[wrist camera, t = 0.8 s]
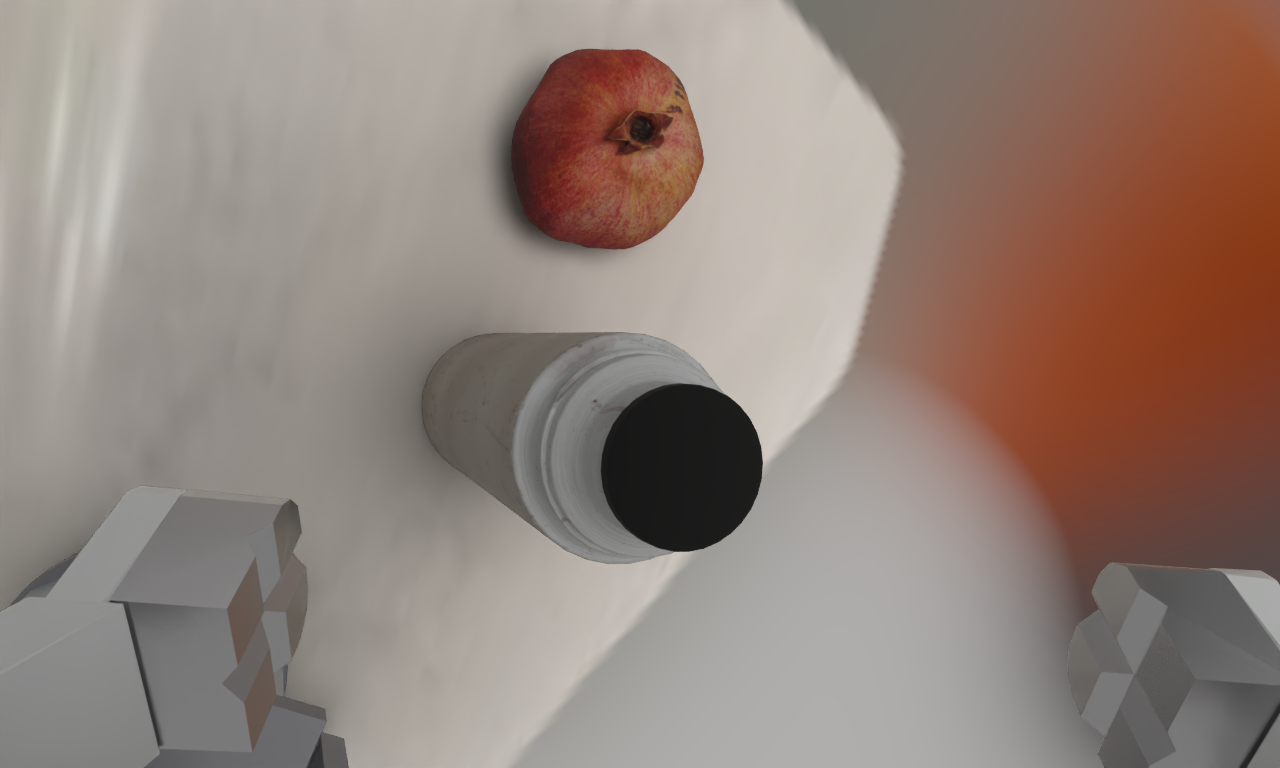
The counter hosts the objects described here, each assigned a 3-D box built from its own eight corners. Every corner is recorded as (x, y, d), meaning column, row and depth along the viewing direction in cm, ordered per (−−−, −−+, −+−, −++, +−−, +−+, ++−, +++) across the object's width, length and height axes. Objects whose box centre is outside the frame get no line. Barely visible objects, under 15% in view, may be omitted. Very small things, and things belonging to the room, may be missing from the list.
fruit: (585, 33, 56) (647, -29, 46) (699, 167, 58) (780, 135, 49) (450, 160, 53) (487, 122, 44) (576, 293, 56) (636, 285, 47)
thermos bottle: (590, 420, 57) (859, 494, 30) (477, 506, 55) (660, 665, 28) (511, 305, 55) (724, 277, 28) (391, 389, 53) (501, 444, 26)
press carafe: (-69, 767, 46) (-264, 1009, 30) (58, 497, 48) (-61, 585, 31) (278, 850, 52) (277, 1094, 35) (384, 607, 53) (430, 731, 37)
